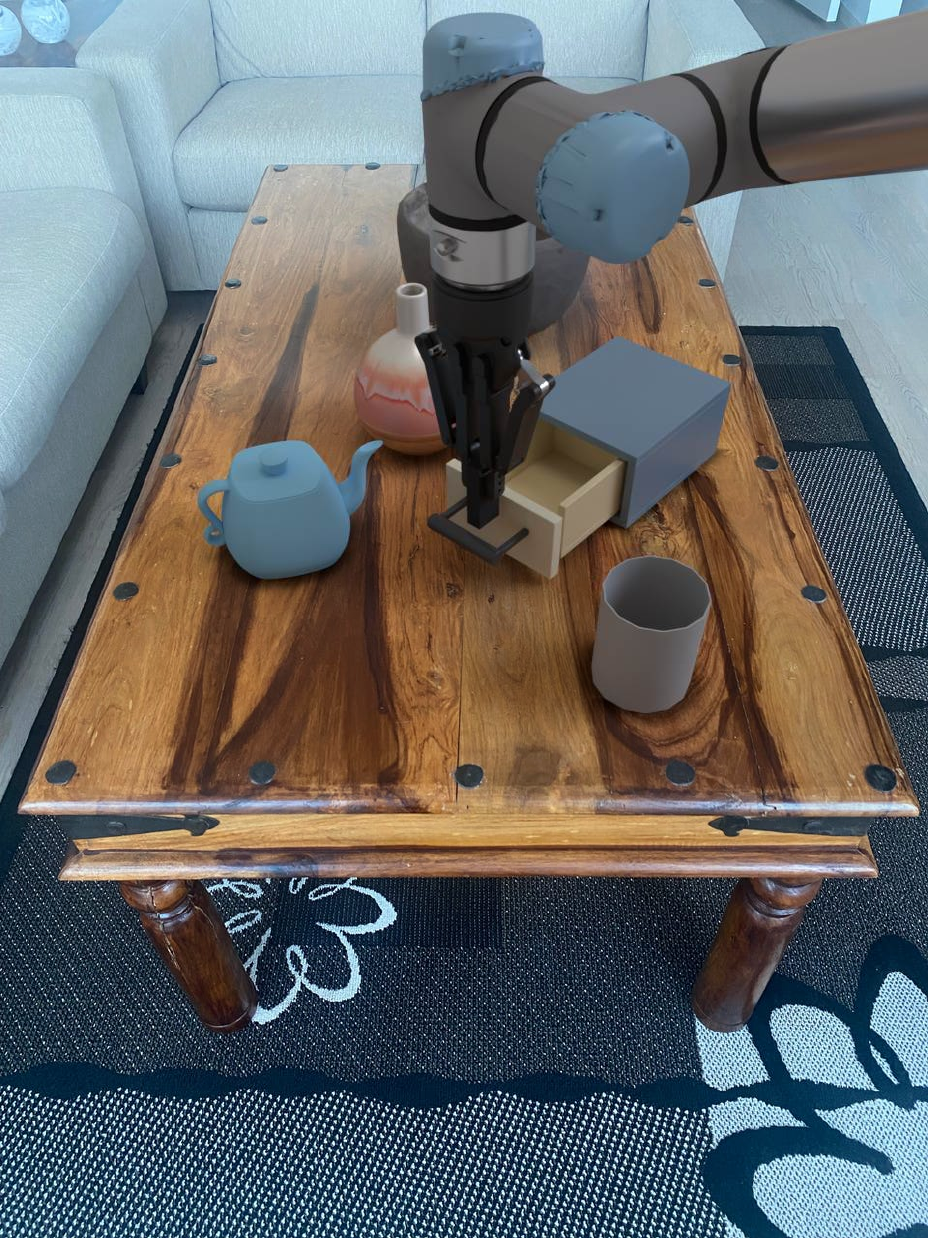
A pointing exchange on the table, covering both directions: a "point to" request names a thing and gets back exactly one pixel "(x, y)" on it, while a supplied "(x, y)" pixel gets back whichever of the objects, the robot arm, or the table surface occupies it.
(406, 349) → the vase
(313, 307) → the table surface
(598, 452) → the open pull-out drawer
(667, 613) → the cup
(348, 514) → the teapot
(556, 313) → the bowl
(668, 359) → the cabinet
